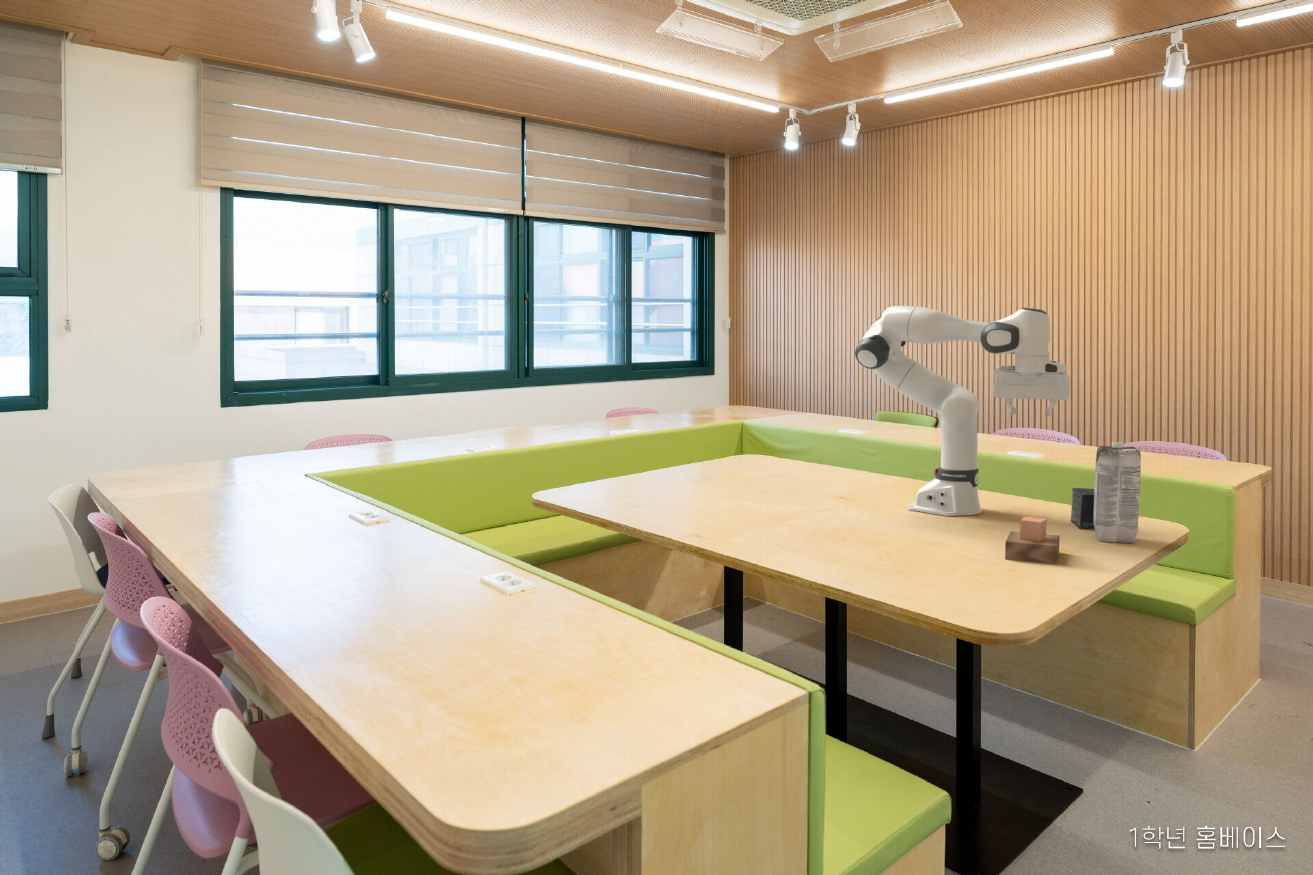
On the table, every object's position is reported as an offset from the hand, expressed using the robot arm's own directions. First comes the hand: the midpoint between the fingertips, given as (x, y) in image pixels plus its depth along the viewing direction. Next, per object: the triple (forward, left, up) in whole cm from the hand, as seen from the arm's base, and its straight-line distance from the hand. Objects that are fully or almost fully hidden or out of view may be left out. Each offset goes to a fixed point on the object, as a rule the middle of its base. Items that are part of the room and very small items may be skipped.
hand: (1030, 414), depth 244 cm
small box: (+12, +18, -34) cm, 41 cm away
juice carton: (+22, +4, -34) cm, 41 cm away
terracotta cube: (+8, -25, -30) cm, 39 cm away
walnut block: (+8, -25, -34) cm, 43 cm away
